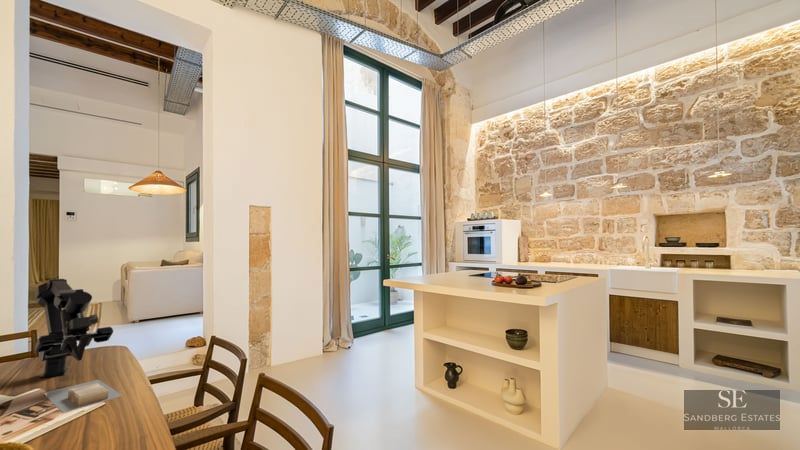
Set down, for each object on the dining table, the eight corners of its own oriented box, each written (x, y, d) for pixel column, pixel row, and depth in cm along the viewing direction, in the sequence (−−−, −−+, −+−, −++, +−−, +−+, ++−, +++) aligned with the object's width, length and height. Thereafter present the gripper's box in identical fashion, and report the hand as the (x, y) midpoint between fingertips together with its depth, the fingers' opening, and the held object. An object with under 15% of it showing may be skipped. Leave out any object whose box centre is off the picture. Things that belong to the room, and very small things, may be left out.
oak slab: (68, 389, 104) (79, 397, 99) (97, 382, 110) (108, 389, 105) (67, 397, 104) (78, 406, 98) (96, 390, 110) (107, 398, 104)
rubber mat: (42, 394, 106) (42, 393, 106) (98, 380, 118) (98, 379, 118) (62, 414, 95) (63, 412, 95) (122, 396, 107) (123, 395, 107)
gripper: (41, 311, 107) (46, 353, 100) (114, 304, 122) (122, 340, 116) (32, 331, 110) (36, 373, 104) (104, 322, 126) (111, 358, 119)
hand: (79, 359), depth 111 cm, fingers closed
